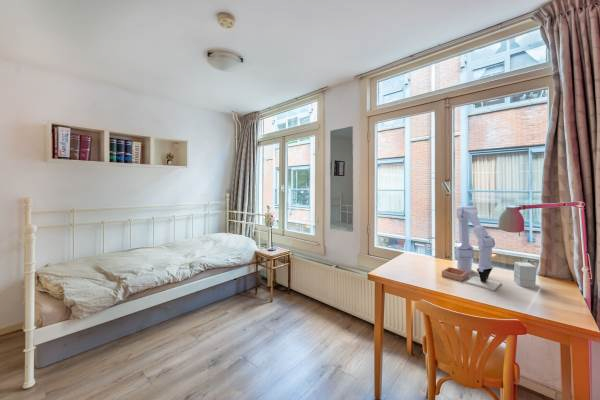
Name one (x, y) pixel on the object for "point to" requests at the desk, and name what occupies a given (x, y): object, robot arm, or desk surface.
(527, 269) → the supplement box
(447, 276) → the dish
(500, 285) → the mat
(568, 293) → the desk surface
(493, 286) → the lid
